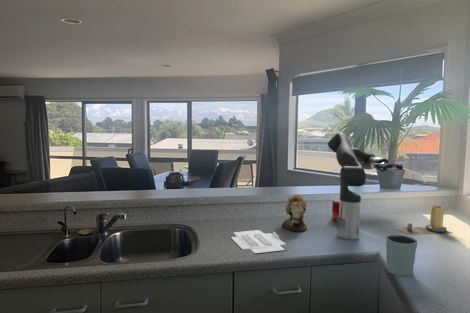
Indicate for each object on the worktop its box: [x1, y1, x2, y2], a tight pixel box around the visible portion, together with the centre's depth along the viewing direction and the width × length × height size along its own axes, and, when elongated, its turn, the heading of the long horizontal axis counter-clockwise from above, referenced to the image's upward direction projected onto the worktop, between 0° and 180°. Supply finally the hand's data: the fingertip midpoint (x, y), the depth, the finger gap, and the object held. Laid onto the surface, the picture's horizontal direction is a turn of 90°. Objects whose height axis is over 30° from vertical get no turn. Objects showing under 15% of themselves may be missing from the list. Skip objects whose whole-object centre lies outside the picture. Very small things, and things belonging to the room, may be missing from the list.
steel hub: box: [424, 223, 448, 233], centre depth 167 cm, size 9×9×6 cm
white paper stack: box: [230, 229, 287, 254], centre depth 153 cm, size 20×28×4 cm
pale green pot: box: [385, 234, 418, 277], centre depth 123 cm, size 10×10×12 cm
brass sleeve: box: [429, 205, 445, 229], centre depth 167 cm, size 5×5×10 cm
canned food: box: [331, 198, 340, 222], centre depth 189 cm, size 8×8×11 cm
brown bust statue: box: [281, 193, 308, 233], centre depth 174 cm, size 18×12×17 cm, turn 8°
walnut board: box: [394, 222, 454, 236], centre depth 166 cm, size 24×11×5 cm, turn 97°
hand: (394, 167), depth 181 cm, fingers open, 8 cm apart
